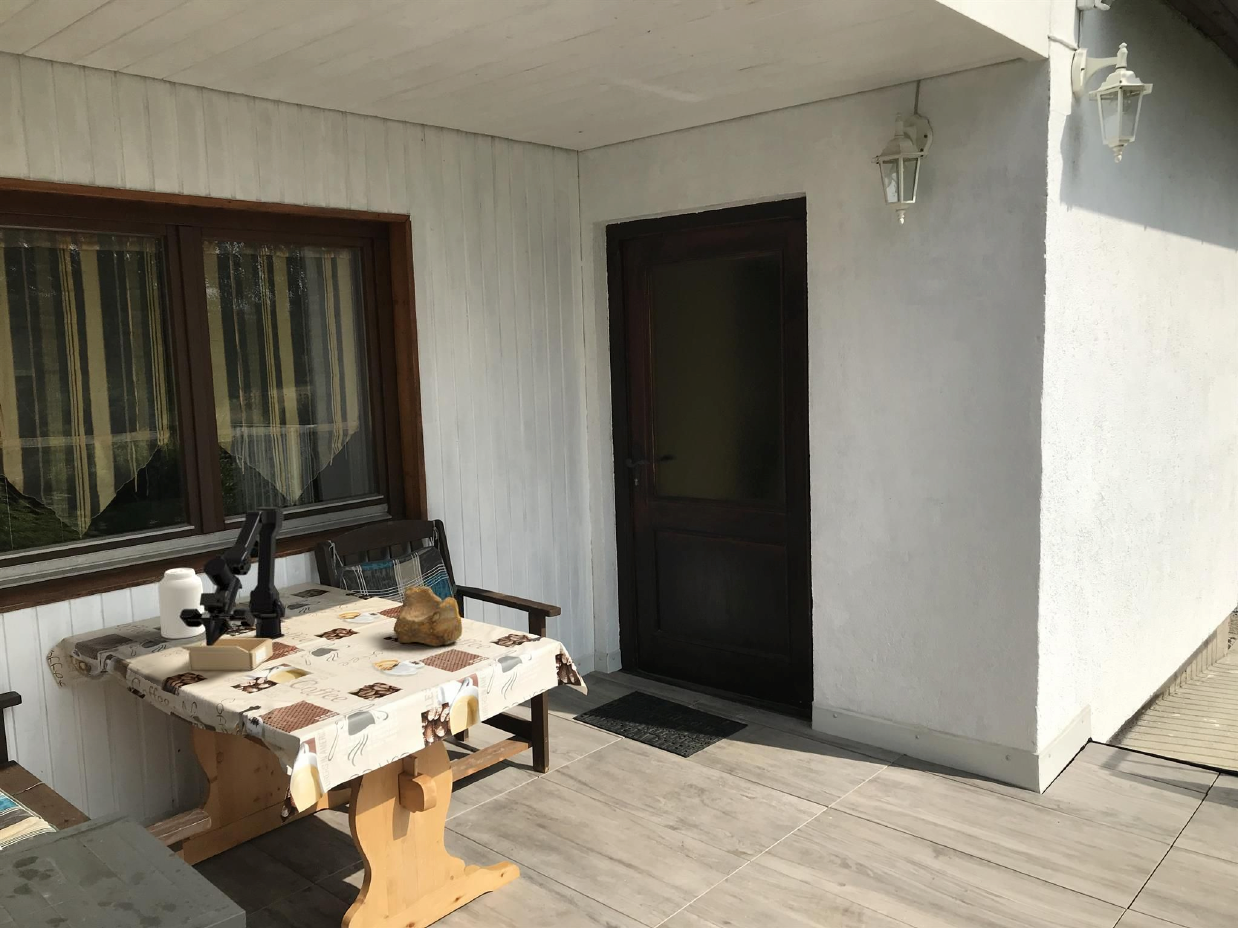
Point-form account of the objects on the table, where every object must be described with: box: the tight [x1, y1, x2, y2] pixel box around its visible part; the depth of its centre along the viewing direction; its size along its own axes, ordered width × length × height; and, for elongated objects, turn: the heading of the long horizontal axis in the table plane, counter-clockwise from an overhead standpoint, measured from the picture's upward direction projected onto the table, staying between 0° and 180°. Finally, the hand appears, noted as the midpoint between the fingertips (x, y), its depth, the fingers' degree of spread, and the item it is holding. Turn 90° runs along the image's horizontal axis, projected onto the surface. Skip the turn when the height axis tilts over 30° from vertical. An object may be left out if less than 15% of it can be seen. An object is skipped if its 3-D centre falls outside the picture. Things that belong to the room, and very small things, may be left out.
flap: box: [178, 645, 248, 653], centre depth 264 cm, size 1×16×7 cm
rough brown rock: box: [393, 585, 463, 648], centre depth 292 cm, size 23×16×15 cm
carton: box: [188, 637, 274, 671], centre depth 275 cm, size 14×18×5 cm
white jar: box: [157, 567, 205, 640], centre depth 303 cm, size 12×12×20 cm
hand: (208, 646), depth 261 cm, fingers closed, pressing on flap
